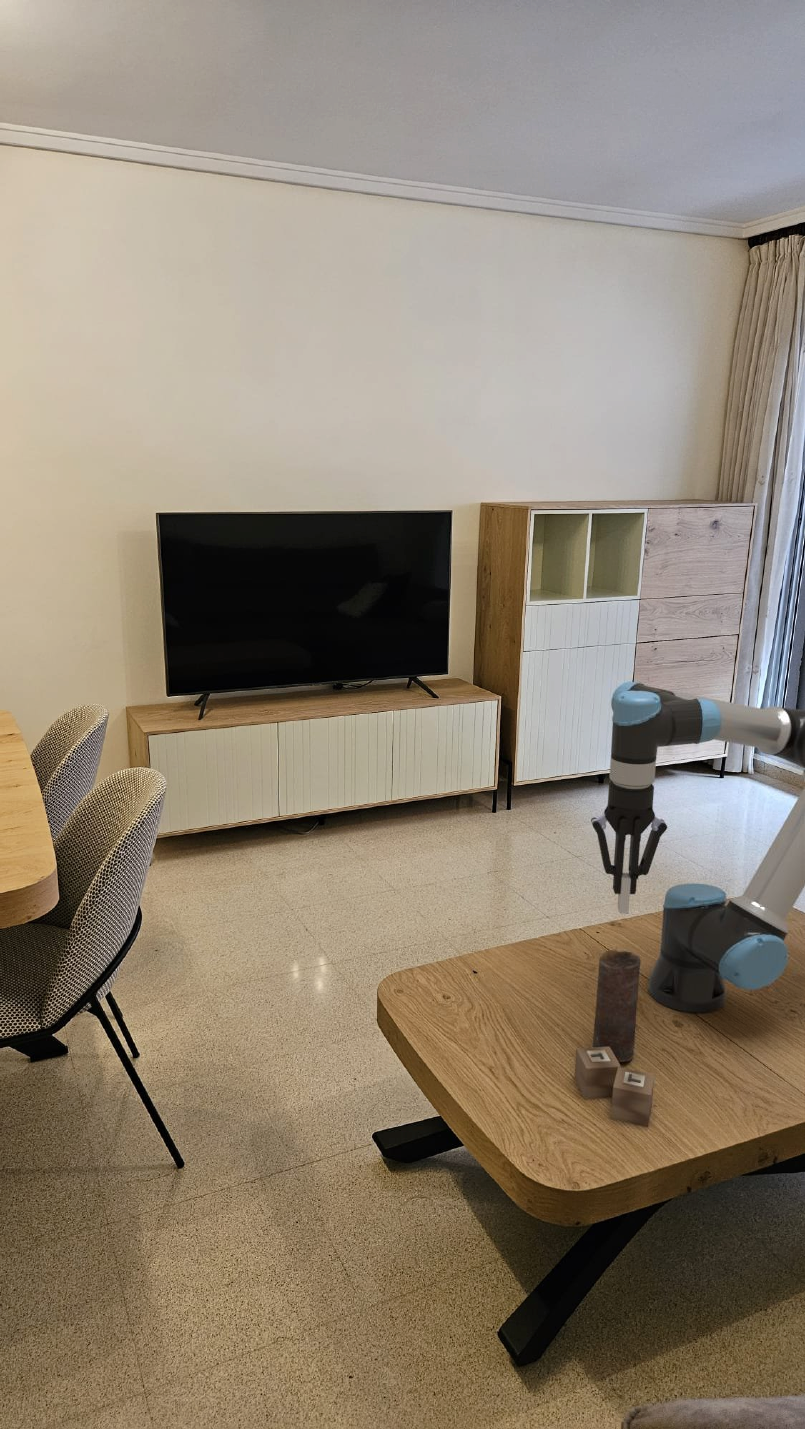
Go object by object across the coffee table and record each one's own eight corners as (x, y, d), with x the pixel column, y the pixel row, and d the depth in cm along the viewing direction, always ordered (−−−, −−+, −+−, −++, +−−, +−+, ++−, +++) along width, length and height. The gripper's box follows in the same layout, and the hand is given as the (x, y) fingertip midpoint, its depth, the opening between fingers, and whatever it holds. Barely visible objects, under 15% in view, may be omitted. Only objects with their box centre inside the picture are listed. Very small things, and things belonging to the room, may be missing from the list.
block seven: (651, 1105, 165) (654, 1071, 164) (648, 1127, 160) (651, 1092, 158) (615, 1097, 167) (618, 1064, 166) (610, 1119, 162) (613, 1084, 160)
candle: (624, 1072, 174) (632, 970, 169) (585, 1059, 178) (592, 959, 173) (638, 1052, 181) (647, 952, 176) (600, 1040, 184) (607, 942, 180)
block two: (607, 1076, 173) (609, 1043, 172) (618, 1097, 167) (621, 1063, 166) (574, 1078, 172) (576, 1045, 171) (584, 1099, 167) (586, 1065, 165)
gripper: (666, 776, 171) (656, 902, 176) (590, 774, 171) (583, 899, 177) (675, 790, 163) (664, 920, 169) (595, 788, 164) (588, 918, 170)
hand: (622, 910), depth 173 cm, fingers closed
